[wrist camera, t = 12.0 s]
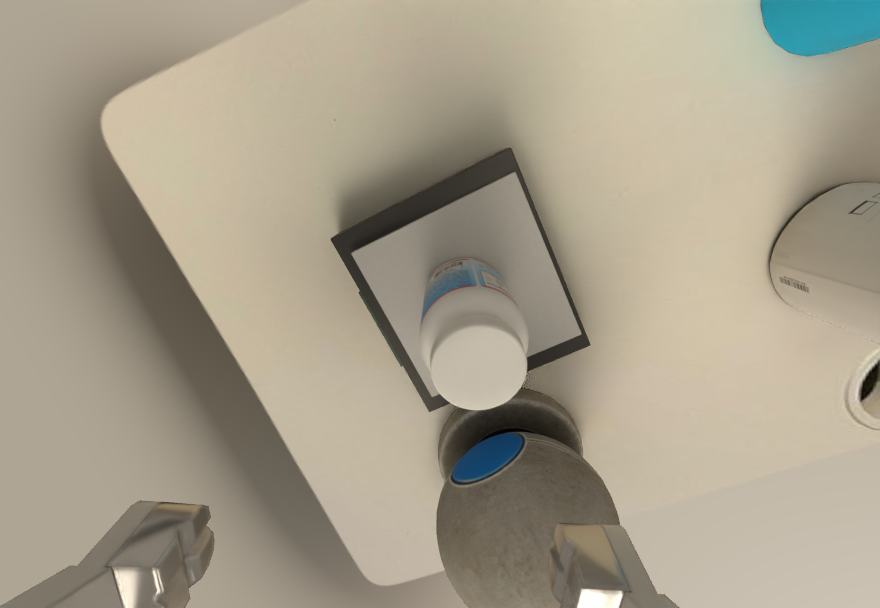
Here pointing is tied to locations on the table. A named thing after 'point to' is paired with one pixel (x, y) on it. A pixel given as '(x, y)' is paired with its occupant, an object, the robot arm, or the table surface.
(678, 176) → the table surface
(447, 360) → the pill bottle
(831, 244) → the speaker
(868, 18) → the mug
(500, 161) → the scale
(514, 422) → the webcam
